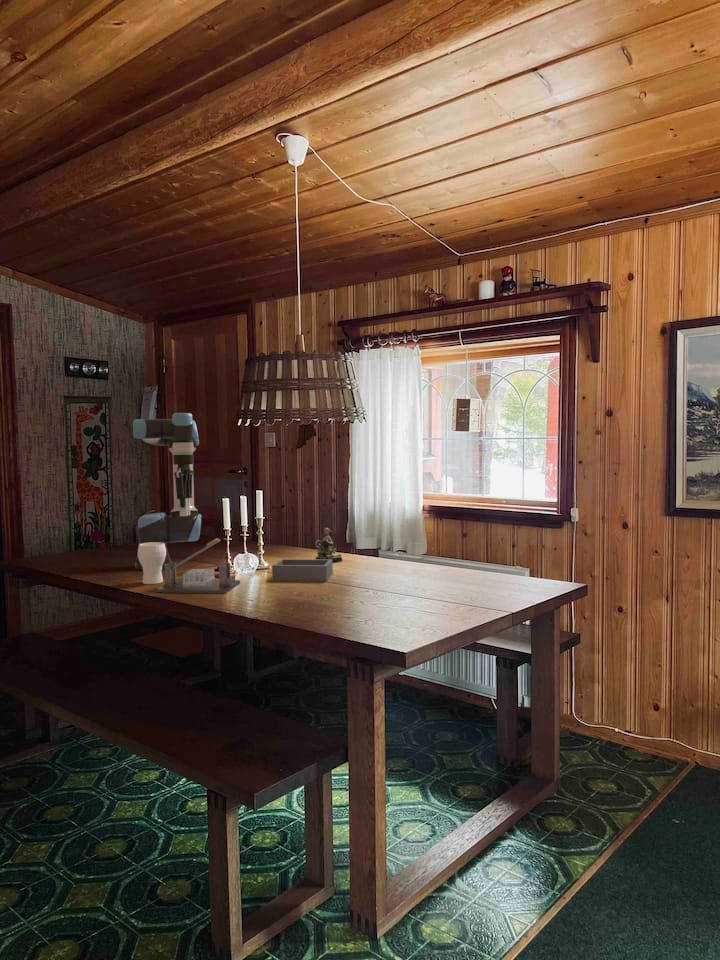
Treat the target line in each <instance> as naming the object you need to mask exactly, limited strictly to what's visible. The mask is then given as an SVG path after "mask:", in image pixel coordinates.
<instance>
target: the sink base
mask: <svg viewBox="0 0 720 960" xmlns="http://www.w3.org/2000/svg"><path fill="white" fill-rule="evenodd" d="M176 564H177V561H171V562H170V564H165V569H164V584H163V585H161V586H160V587H158V588H156V589H155V592H162V594H165V593H167V594H168V593H169V594H171V593H173V594H216V595H217V594H219V595H221V594H223V595H225V594H227V593H229V592H230V591H231V590H233V589H234V588H236V587H237V586H239V585H240V584H241V580H240V579H236V575H231V562H223V563H222V564H219V565H218V579H216V577H215V569H214V568H211V569H210V568H206V569H205V568H201V569H200V568H196V569H195V568H191V569H189V570H187V571H185V572H183V573H182V579H178V578H177V567H175V568H174V570H173V571H171V566H174V565H176Z"/></svg>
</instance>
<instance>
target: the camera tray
mask: <svg viewBox="0 0 720 960" xmlns="http://www.w3.org/2000/svg"><path fill="white" fill-rule="evenodd" d="M333 564H334V563H333V561H332V560H329V559H316V558H314V559H313V558H312V559H310V558H308V559H307V558H303V559H302V558H301V559H297V558H280V559H279V560H278V561H276V562H275V563H273V564H272V565H271V569H272V570H271V572H272V573H271V575H272V576H271V577H272V579H271V580H272V582H327V581H328V580H330V578H331V577H332V576H333V574H334V573H333V572H334V571H333V570H334V569H333V568H334V567H333V566H334V565H333Z"/></svg>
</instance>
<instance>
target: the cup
mask: <svg viewBox="0 0 720 960" xmlns="http://www.w3.org/2000/svg"><path fill="white" fill-rule="evenodd" d="M137 548H138V549H137V555H138V558H139V562H140V563H141V565H142V567H143V570H142V572H143V575H142V584H144V585H154V584H161V583H163V582H164V577H163V573H162V571H163V569H162V565H163V563H164V561H165V557H166V548H165V544H164V543H161V542H150V543H142V544H139V543H138V547H137Z"/></svg>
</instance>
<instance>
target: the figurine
mask: <svg viewBox="0 0 720 960" xmlns="http://www.w3.org/2000/svg"><path fill="white" fill-rule="evenodd" d="M323 533H324V536H323V538H322V540H316V542H315V543H314V544H315V545H314V547H315V550H316V552H317V556H316V557H315V559H329V560H332V561H333V564H338V563H341V562H343V557H342V554H341V553H337V548H336V547H334V546H333V545H334V542H333V540H332V538H331V537H333V531H332V530H331V529H330V528H328V527H324V528H323Z"/></svg>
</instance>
